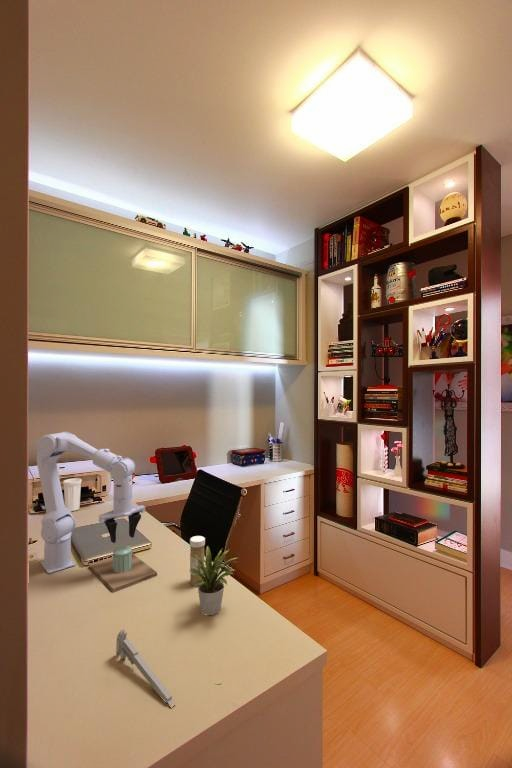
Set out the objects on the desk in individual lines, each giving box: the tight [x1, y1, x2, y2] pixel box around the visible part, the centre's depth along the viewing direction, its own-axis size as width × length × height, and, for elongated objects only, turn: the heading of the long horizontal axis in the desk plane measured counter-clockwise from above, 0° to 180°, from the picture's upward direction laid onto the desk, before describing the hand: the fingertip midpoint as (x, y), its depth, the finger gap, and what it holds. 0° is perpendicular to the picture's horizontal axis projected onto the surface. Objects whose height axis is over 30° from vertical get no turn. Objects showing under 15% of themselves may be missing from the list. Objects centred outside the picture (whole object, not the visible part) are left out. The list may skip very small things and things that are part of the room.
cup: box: [62, 477, 83, 512], centre depth 176 cm, size 8×8×14 cm
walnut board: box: [88, 553, 158, 593], centre depth 118 cm, size 20×14×1 cm
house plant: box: [189, 545, 240, 616], centre depth 96 cm, size 14×14×16 cm
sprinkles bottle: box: [189, 535, 206, 587], centre depth 112 cm, size 5×5×14 cm
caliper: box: [115, 628, 176, 706], centre depth 75 cm, size 20×1×6 cm, turn 49°
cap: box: [112, 545, 133, 573], centre depth 118 cm, size 6×6×6 cm
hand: (122, 539), depth 118 cm, fingers open, 5 cm apart
